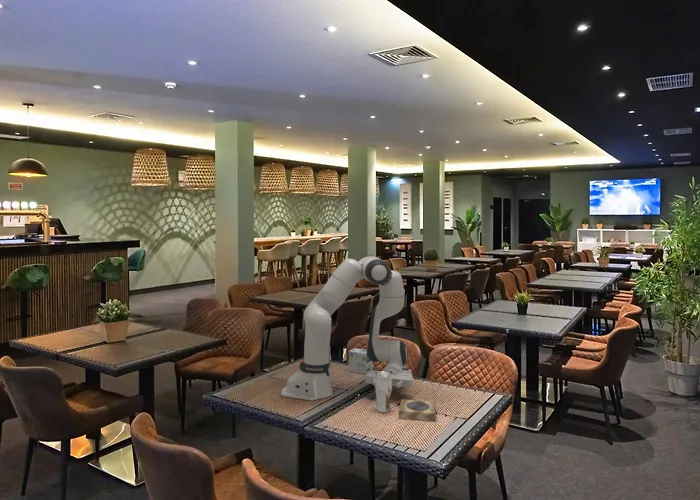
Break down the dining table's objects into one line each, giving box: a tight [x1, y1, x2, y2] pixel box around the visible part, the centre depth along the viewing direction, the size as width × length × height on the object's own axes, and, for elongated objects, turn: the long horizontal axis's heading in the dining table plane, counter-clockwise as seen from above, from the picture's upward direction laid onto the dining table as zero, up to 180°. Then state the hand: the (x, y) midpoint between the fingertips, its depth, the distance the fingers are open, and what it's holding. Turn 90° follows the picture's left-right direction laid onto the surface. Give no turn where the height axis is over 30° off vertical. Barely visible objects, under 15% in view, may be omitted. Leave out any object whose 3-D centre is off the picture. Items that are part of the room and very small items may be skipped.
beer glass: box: [374, 370, 393, 414], centre depth 207 cm, size 7×7×15 cm
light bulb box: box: [348, 347, 374, 375], centre depth 258 cm, size 11×7×11 cm, turn 58°
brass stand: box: [398, 398, 437, 422], centre depth 204 cm, size 14×13×3 cm
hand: (385, 385), depth 213 cm, fingers open, 8 cm apart
